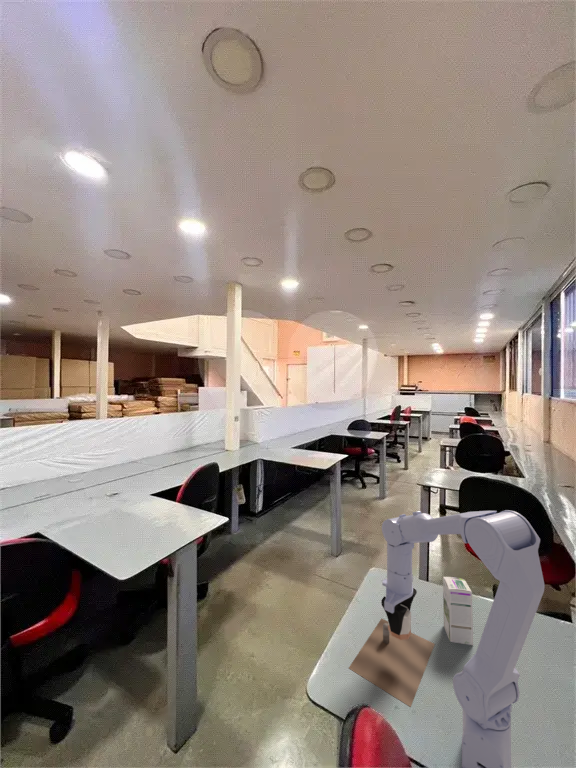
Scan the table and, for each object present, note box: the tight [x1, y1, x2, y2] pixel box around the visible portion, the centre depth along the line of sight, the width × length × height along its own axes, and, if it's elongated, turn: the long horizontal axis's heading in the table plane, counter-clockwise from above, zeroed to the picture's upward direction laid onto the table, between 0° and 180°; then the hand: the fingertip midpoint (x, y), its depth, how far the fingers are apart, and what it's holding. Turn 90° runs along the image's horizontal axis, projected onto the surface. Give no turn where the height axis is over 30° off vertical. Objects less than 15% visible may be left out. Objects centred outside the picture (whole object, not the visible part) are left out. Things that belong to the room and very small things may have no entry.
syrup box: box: [442, 576, 474, 646], centre depth 81 cm, size 6×6×14 cm
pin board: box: [348, 618, 436, 708], centre depth 75 cm, size 20×14×5 cm
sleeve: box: [387, 604, 412, 640], centre depth 74 cm, size 5×5×5 cm
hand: (399, 625), depth 74 cm, fingers closed on sleeve, 5 cm apart
